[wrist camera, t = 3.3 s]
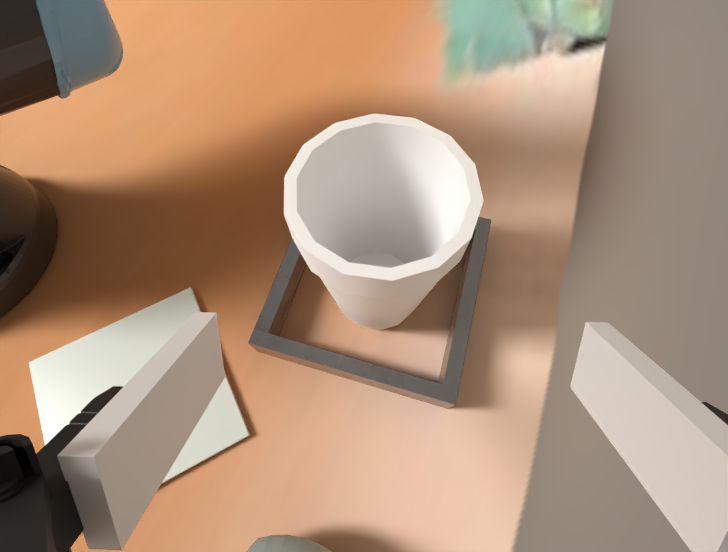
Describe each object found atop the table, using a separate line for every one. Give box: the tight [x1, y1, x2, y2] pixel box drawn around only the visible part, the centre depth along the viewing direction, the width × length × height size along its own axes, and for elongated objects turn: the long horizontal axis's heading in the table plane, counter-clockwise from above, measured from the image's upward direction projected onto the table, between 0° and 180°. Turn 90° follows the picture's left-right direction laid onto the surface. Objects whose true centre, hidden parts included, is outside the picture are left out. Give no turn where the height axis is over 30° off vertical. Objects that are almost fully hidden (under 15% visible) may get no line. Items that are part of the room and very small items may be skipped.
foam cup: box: [284, 114, 484, 330], centre depth 25 cm, size 10×9×13 cm
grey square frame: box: [249, 217, 491, 409], centre depth 29 cm, size 14×14×2 cm
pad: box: [29, 287, 250, 484], centre depth 27 cm, size 12×12×1 cm
